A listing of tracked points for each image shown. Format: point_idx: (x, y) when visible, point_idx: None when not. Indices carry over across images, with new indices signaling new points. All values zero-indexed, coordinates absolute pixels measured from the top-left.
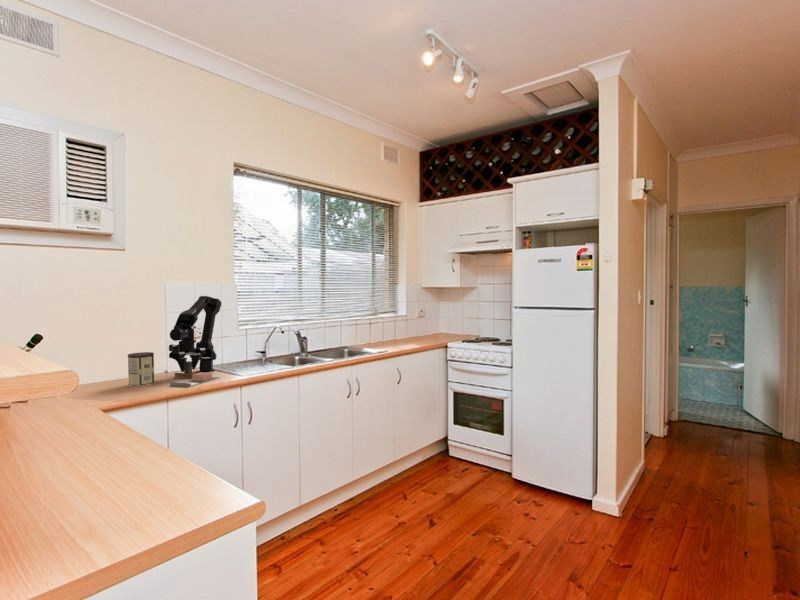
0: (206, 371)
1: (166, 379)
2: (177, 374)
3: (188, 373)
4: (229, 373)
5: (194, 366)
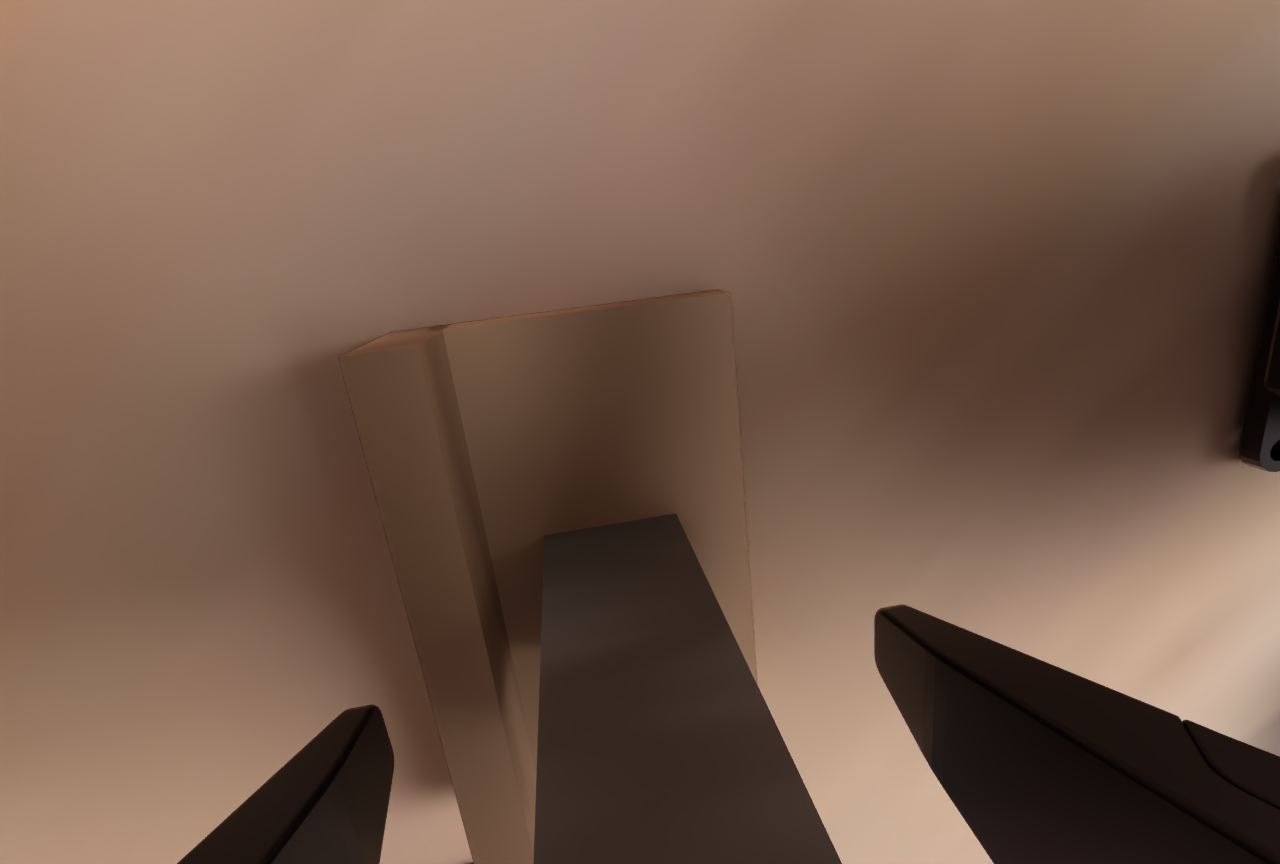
0: (1270, 437)
1: (171, 209)
2: (382, 455)
3: (504, 779)
4: None
5: (925, 752)
